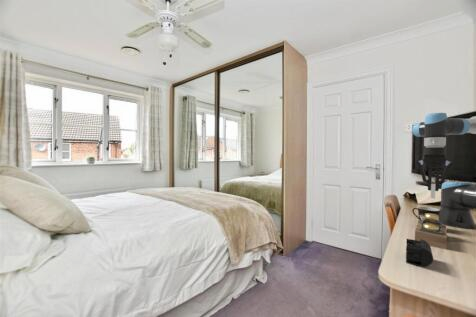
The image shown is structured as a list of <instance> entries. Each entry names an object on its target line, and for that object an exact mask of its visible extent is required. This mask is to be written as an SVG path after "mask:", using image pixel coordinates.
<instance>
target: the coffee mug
mask: <svg viewBox="0 0 476 317" xmlns="http://www.w3.org/2000/svg"><path fill="white" fill-rule="evenodd" d="M415 210H417V212H418V213H417V214H418V215H417V214H416V213H415V212H414V211H415ZM439 211H440V209H438V208H436V207H432V206H431V207H429V206H417V207H413V208H412V213H413V215H414V216H415V217H416V218H417V219H418V220H419V221H422V220H426V219H425V213H430V214H436V215H439ZM428 221H429V220H428ZM434 222H435V221H434Z"/></svg>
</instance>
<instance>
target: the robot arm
mask: <svg viewBox="0 0 476 317" xmlns="http://www.w3.org/2000/svg"><path fill="white" fill-rule="evenodd" d="M411 128H412V129H411V132H412V134H413V136H414V137H421V138H423V137H424V138H423V140H424V141H423V146H424V148H423V157H422V159H421V160H418V161H416V164H417V166H418V168H419V171H420V176H421V179H422V182H423V183H426V184H427V190H428V191H430V199H436V192H439V190H440V191H441V192H440V209H439V210H440V211H439V221H438V222H440V223H442V225H446V226H450V227H453V228H460V229H474V228H475V227H476V226H475V225H476V224H475V223H476V222H475V220H474V217H473V215H472V213H471V209H473V210H476V183H475V185H473V184H472V182H470V181H446V179H447V176H448V174H449V171H450V168H451V167H452V166H453V165H454V163H453V162H451V161H449V160H447V157H446V152H447V151H446V150H447V149H446V146H447V136H451V135H452V136H453V135H454V136H457V135H460V136H461V135H464V134H472V135H476V115H475V116H471V117H470V118H462V117H461V118H460V117H459V118H458V117H457V118H456V117H455V118H454V117H453V118H452V117H451V118H450V117H449V118H448V116H447V113H446V112H434V113H433V112H432V113H427V114H426V115H425V117H424V121H423V122H422V121H421V122H417V123H414V125H413V126H412V127H411ZM424 164H425V165H426V166H427V167H428V169H427V170H428V172H427V173H428V174H427V177H426V173H425V169H424V166H423V165H424ZM444 164H445V169H444V171H443V174H442V176H441V178H440V168H441V167H442V166H443V165H444ZM433 168H435V179H434V180H435V183H432V178H433V176H432V175H433ZM440 179H441V180H440ZM440 185H441V187H440ZM439 188H441V189H439Z"/></svg>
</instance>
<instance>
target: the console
mask: <svg viewBox="0 0 476 317" xmlns="http://www.w3.org/2000/svg"><path fill="white" fill-rule="evenodd" d="M423 224H434V225H437V226H439V232H436V231H431V230H425V229H423ZM447 235H448V233H447V225H445V224H442V223H440V222H434V221H428V220H422V221H419V219H418V221H417V224H416V227H415V231H414V240H416V241H420V239H422V240H425V241H426V242H427V243H428V244H429V245H430V247H434V248H438V249H439V248H440V249H444V250H447V246H448V245H447V244H448V242H447V240H448V236H447Z"/></svg>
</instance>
